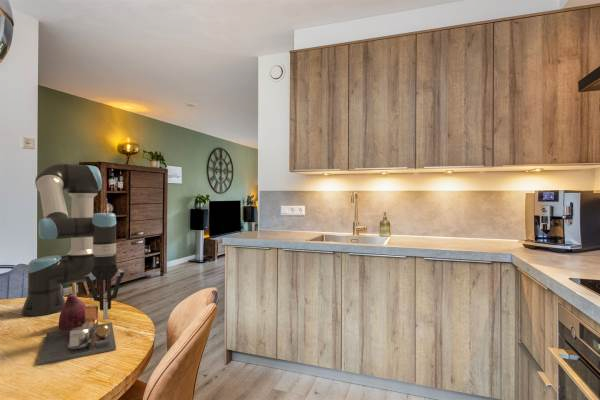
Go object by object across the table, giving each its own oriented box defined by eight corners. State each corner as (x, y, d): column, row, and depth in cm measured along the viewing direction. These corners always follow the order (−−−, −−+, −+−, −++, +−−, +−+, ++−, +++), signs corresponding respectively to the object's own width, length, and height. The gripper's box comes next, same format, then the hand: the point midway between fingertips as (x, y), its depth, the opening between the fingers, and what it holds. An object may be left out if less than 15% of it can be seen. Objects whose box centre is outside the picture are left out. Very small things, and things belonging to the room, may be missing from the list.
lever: (83, 347, 105) (84, 324, 105) (64, 349, 103) (64, 326, 103) (100, 323, 125) (101, 304, 125) (84, 325, 124) (84, 306, 124)
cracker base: (47, 336, 120) (47, 315, 120) (111, 325, 131) (111, 306, 131) (38, 365, 99) (38, 339, 99) (115, 349, 109) (116, 326, 109)
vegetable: (75, 339, 125) (71, 304, 121) (52, 333, 127) (47, 298, 123) (97, 323, 135) (94, 289, 131) (76, 317, 137) (72, 284, 133)
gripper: (84, 258, 118) (84, 325, 119) (125, 254, 125) (125, 318, 126) (84, 255, 125) (84, 318, 125) (123, 251, 132) (123, 312, 132)
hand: (105, 318), depth 125 cm, fingers closed
